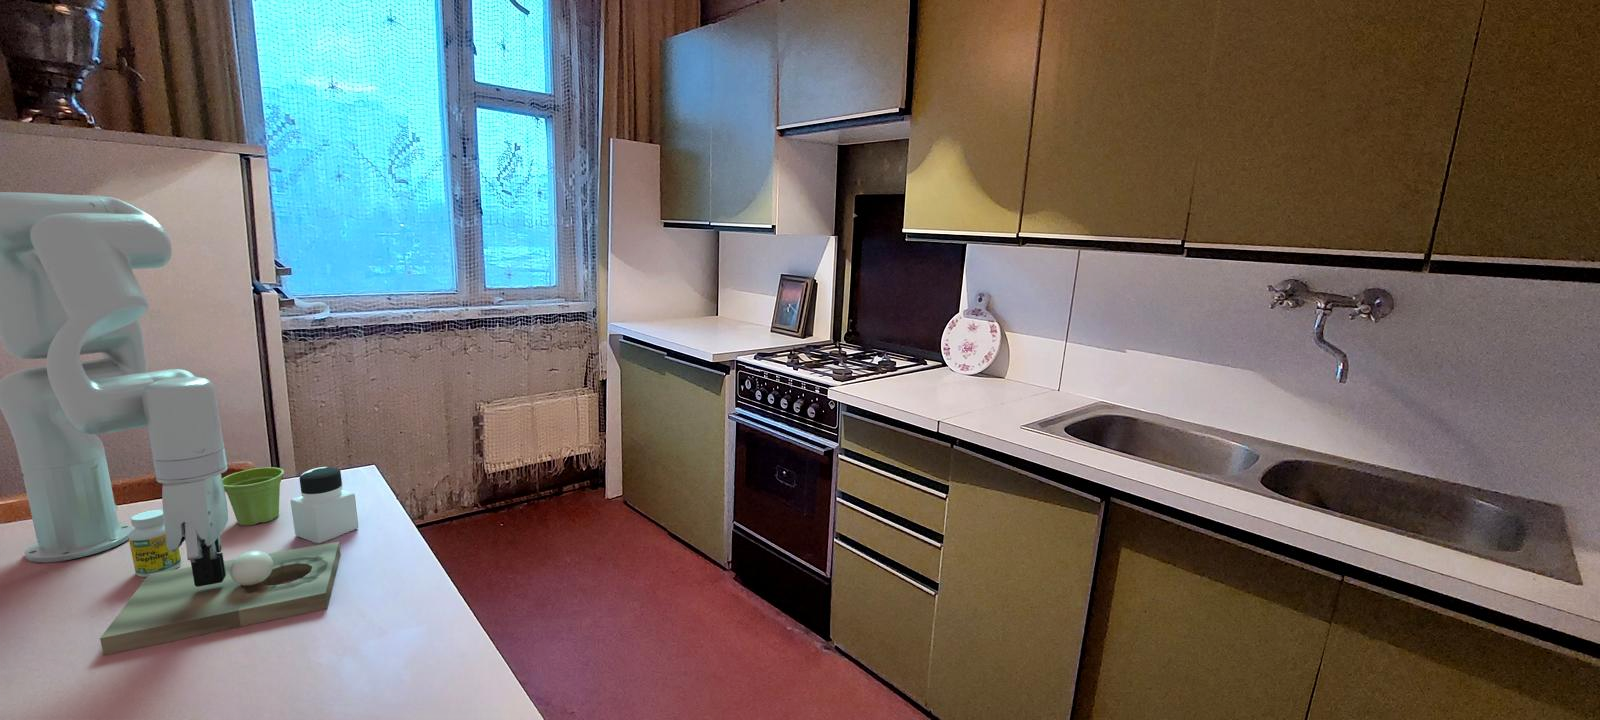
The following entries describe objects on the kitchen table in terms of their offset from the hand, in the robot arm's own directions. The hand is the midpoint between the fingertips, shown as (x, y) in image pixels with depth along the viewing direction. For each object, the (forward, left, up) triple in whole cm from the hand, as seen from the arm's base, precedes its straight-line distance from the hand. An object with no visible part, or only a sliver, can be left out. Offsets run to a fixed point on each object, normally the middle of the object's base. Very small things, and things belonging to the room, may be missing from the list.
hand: (210, 581), depth 97 cm
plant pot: (-32, 0, -4) cm, 32 cm away
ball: (+1, +5, +2) cm, 5 cm away
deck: (0, +3, -4) cm, 4 cm away
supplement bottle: (-16, -10, -4) cm, 19 cm away
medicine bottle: (-20, +12, -4) cm, 24 cm away
